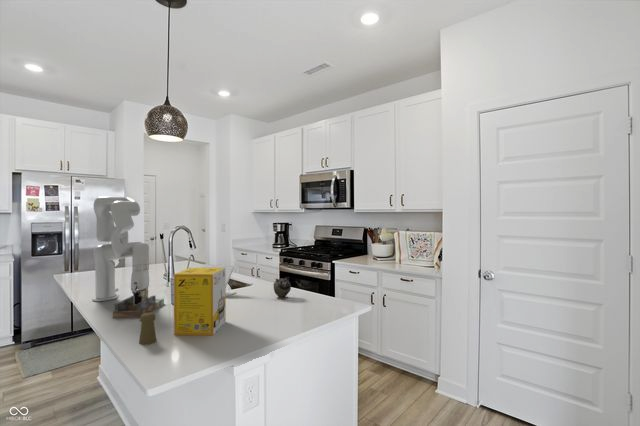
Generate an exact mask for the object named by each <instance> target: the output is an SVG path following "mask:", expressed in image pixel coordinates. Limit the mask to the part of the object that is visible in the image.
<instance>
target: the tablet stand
mask: <svg viewBox="0 0 640 426" xmlns="http://www.w3.org/2000/svg"><path fill="white" fill-rule="evenodd" d="M200 268H225V284H226V287H228V283H229V281H230V279H231V276H232V274H233V271H234V268H235V267H234V266H227V265H217V264H216V265H215V264H206V263H202V265H201V266H200ZM236 293H237V292H236V291H232V290H231V291H230V290H226V297H229V296H230V297H231V296H233V295H235V294H236Z"/></svg>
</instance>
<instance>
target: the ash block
mask: <svg viewBox="0 0 640 426" xmlns="http://www.w3.org/2000/svg"><path fill="white" fill-rule="evenodd" d="M137 292H138V293H139V291H137ZM132 296H133V305H137V304H135V297H134V294H133V293H132ZM147 298H149V288H148V289H143V290H141V302H142V301H144V300H145V299H147Z"/></svg>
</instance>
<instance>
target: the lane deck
mask: <svg viewBox="0 0 640 426" xmlns="http://www.w3.org/2000/svg"><path fill="white" fill-rule="evenodd" d="M164 304H165V298H164V297H162V298H161V297H160V298H159V297H158V298H156V295H151V296H148V298H147V299H145V300H144V301H142V302H140V303H138V304H137V305H133V295H131V296H130V297H127V298H125V299H123V300H121V301H119V302H116V303H115V304H114V310H113V311H112V312H111V313H112V319H130V318H131V319H132V318H134V319H135V318H137V319H138V318H139V319H140V317H141V315H142V314H144V313H153V312H154V311H155V310H157V309H158V308H159V307H161V306H163V305H164Z"/></svg>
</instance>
